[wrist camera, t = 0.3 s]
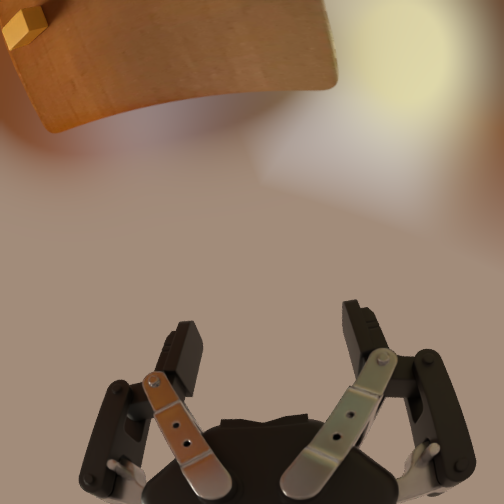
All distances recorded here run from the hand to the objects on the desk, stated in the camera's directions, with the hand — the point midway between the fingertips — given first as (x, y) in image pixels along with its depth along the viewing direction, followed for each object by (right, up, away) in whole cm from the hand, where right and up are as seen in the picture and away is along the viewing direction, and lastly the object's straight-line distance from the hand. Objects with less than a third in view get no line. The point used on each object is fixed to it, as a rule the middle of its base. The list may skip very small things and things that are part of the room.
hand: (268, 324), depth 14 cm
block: (-33, +37, +4) cm, 50 cm away
